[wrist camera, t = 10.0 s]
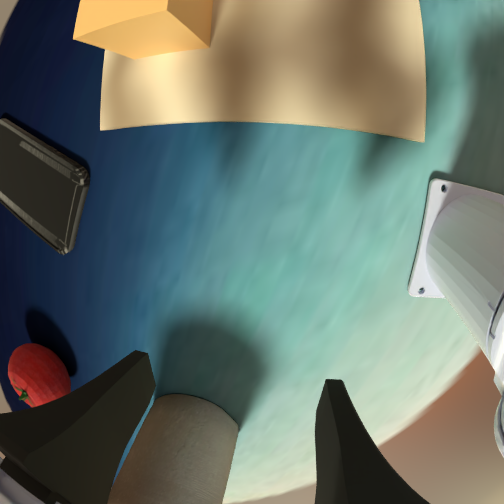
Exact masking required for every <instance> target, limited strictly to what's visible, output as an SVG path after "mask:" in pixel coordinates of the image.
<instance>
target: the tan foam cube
mask: <svg viewBox="0 0 504 504" xmlns="http://www.w3.org/2000/svg"><path fill="white" fill-rule="evenodd" d="M212 8H213V0H81V1H80V5H79V10H78V14H77V19H76V25H75V30H74V36H73V39H74V40H78V41H81V42H85V43H88V44H91V45H94V46H97V47H100V48H103V49H106V50H109V51H112V52H115V53H118V54H121V55H123V56H126V57H129V58H131V59H134V60H135V59H139V58H144V57H149V56H155V55H160V54H166V53H172V52H179V51H187V50H195V49H205V48H210V34H211V20H212Z"/></svg>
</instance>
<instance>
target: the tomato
mask: <svg viewBox="0 0 504 504" xmlns="http://www.w3.org/2000/svg"><path fill="white" fill-rule="evenodd" d="M8 375H9V378H10V381H11V383H12V384H11V385H12V386H13V387H14V389H15V391H16V392H17V393H18V395H19V396H20V397H19V400H22V399H23V401H25V402H26V403H27V404H29V405H30V406H31V407H36V406H39V405H42V404H45V403H48V402H50V401H53V400H55V399H58V398H60V397H62V396H64V395H67V394H69V393H70V392H71V381H70V377H69V375H68V372H67V369H66V367H65V365H64V363H63V362H62V361H61V359H60V358H59V357H58V356H57V355H56V354H55V353H54V352H53V351H51V350H50V349H48V348H46V347H44V346H42V345H39V344H36V343H32V344H24V345H22V346H20V347H18V348H16V349H15V351H14V352H13V354H12V356H11V358H10V361H9V365H8Z"/></svg>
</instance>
